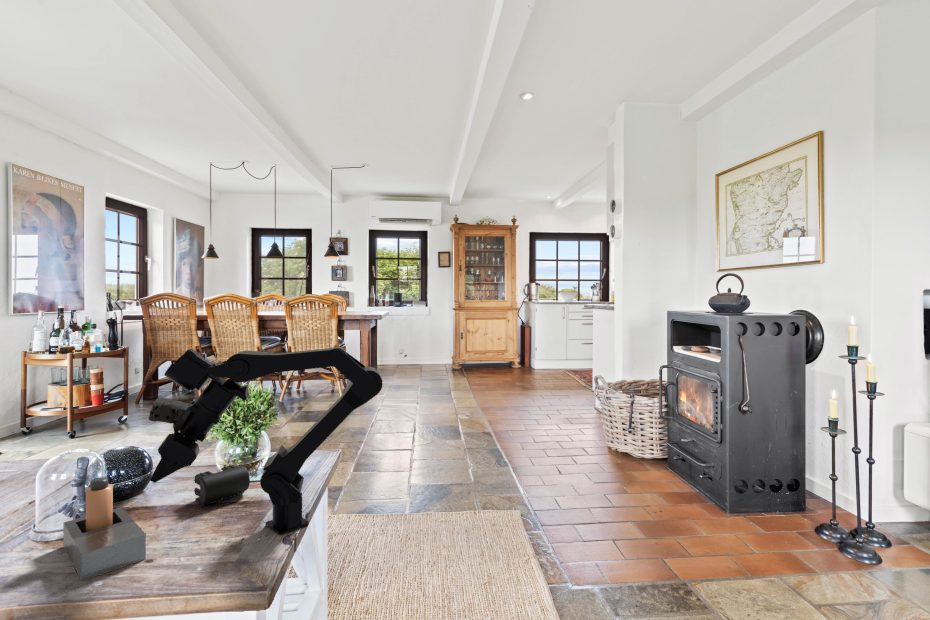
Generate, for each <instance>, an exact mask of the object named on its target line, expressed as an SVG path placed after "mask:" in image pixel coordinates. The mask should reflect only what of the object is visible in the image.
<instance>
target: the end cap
mask: <svg viewBox="0 0 930 620" xmlns="http://www.w3.org/2000/svg"><path fill="white" fill-rule="evenodd" d="M220 470H221V471H217V472H214V473H213V472H211V471H205V472H200V473H196V474H195V476H194V481H193V482H194V483H195V484H196V485H198V486H199V488H198V487H194V490H193V492H194V494H195V496H197V497H195V502H196V503H198V505H200V506H203V507H204V506H207V505H212V504H214V503H217V502H220V501H224V500H227V499H230V498H233V497H236V496H239V495H242V494H244V493H245V492H246V491H248V489H249V487H250V485H251V484H250V483H251V479H250V473H249V470H248V468H247V467H246V466H245V465H240V466H235V465H233V464H229V465H227V466H222V467H221V469H220Z"/></svg>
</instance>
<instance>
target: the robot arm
mask: <svg viewBox="0 0 930 620" xmlns="http://www.w3.org/2000/svg"><path fill="white" fill-rule="evenodd" d="M331 367H332V368H335V369H337V371H338V372H339V373H341V374H342V375H343V376H344V377H345V378H346V379H348V381H349V383H348V384H347V386H346V387H345V389H344V391H343V392H342V394H341V396H339V398H338V399H337V400H336V401H335V402H334V403H333V404H332V405H331V406H330V407H329V408H328V409H327V410H326V411H325V412H324V414H322V416H320V417H319V418H318V420H316V422H314V424H312V426H311V427H310V428H309V429H308V430H307V431H306V432H305V433H304V434H303V435H302V436H301V437H300V438H299V439H298V440H297V441H296V442H295V443H294V444H293V445H292V446H290V447H287V448H285V446H284V445H280V446H279V448H278V449H277V451H276V452H275V453H274V454H273V455H271V456H269V457H268V458H267V460H266V462H265V464H264V466H263V467H262V470H263V471H262V474H261V477H260V479H259V481H260V487H261V490H262V491H263V492H264V493H265V494H267V495H268V497H269V499H270V502H271V504H272V519H270V520H268V521H265V526H266V527H268V528H269V529H271V530H272V531H273V532H275V533H276V534H277V535H280V536H281V535H284V534H288V533H289V532H292V531H294V530H298V529H300V528H302V527H305V526H307V525H309V523H310V521H309V520H308V519H306V518H304V517H303V493H302V488H303V484H304V481H305V478H304V476H303V475H302V474H300V473H299V472H300V470H301V469H302V467H303V465H304V463H305V462H306V460H307V459H309V458H310V457H311V455H312V454H313V453H314V452H315V451H316V450H317V449H318V448H319V447H320V446H321V445H322V444H323V443H324V442H325V441H326V440H327V439H328V438H329V437H330V435H332V433H334V431H335V430H336V429H337V428H338V427H339V426H340V425H341V424H342V423H343V422H344V421H345V420H346V419H347V418H348V416H349V415H351V413H353V412H354V411H355V410H356V409H358V408H360V407H361V406H363V405H365V404H367V403H368V402H369V401H371V400H372V399H373V398H375V397H377V396H378V394H380V392H381V391H382V388H383V378H382V376H381V374H380V372H379V370H378V369H377V368H375V367H373V366H366V365H365V364H363V363H362V362H361V361H359V360H358V359H357V358H355V357H354V356H352V355H351V354H350V353H348V352H347V351H346V349H345V348H344V347H342V346H334V347H330V348H319V349H318V348H317V349H310V350H298V351H288V352H270V351H269V352H267V351H259V350H242V351H239V352H236V353H234V354H232V355H230V356H229V357H228V359H226V360H224V361H222V360H220V361H218V362H216V363H212V362H211V361H210V360H208V359H207V358H205V357H203V356H202V355H201V354H199V352H198V351H196V350H195V349H194V348H189V349H187V350H186V351H185V352H184V353H183V354H181V356H180V357H179V358H178V359H176V361H173V362H172V363H171V364H170V366H169V367H168V368H167V369H166V370H165V372H164V375H163V376H165V377H166V378H167V379H169V380H170V381H172V382H174V383H175V384H177V385H178V386H180V387H181V388H183V389H184V390H186V391H187V392H189V393H190V392H193V391H195V390H196V391H198V392H200V391H201V390H202V389H203V388H204V387H205V386H206V384H207V383H208V385H207V386H206V387H205V388H204V390H203V391H202V392H201V393H200V395H199V396H198V397H197V398H193V399H192V400H191V402H190V403H189V402H187V403H186V402H183V401H180V400H175V399H171V398H166V397H165V398H164V397H158V398H156V399H155V400H154V402H153V403H152V406H151V409H150V411H149V415H148V417H147V418H148V421H151V422H155V423H156V422H160V423H165V424H166V423H167V424H172V428H173V433H168V434H167V436H166V437H165V438H164V439H163V441H161V444H160V445H159V447H158V449H157V452H158V454H159V455H160V460H159V461H158V464H157V465H156V467H155V469H154V471H153V473H152V475H151V476H150V478H149V481H150V482H152V483H153V484H154V483H157V482H159V481H161V480H162V479H164V478H166V477H168V476H170V475H171V474H174V473H175V472H177V471H179V470H181V469H183V468H185V467H190V466H191V465H192V464H193V463H194V462H195V460H196V459H197V458H198V456H199V453H200V445H199V443H197V442H198V441H199V442H201V443H203V442H204V440H205V439H206V437H207V434H208V433H209V432H210V431H211V430H212V429H213V427H214V426H215V425H216V426H217V424H218V423H219V422H220V420H221V417H222V416H223V415H224V413H225V412H226V411H227V410H228V408H229V407H230V406H231V404H233V402H234V401H235V400H236V398H239V399H241V400H242V401H244V402H245V401H246V400H248V398H250V392H249V391H250V390H249V384H244V385H241V384H240V383H244V382H249V381H252V380H256V379H259V378H264V377H266V376H268V375H272V374H275V373H276V374H277V373H285V372H292V371H293V372H295V371H304V370H311V369H312V370H313V369H322V368H331ZM226 378H228V379H226ZM210 380H211V381H210ZM209 381H210V383H209Z"/></svg>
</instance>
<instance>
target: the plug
mask: <svg viewBox="0 0 930 620" xmlns="http://www.w3.org/2000/svg"><path fill="white" fill-rule="evenodd" d="M113 485H114V484H112V483H109V477H98V478H94V479H91V480H90V487H88V488H86V489H85V517H86V532H89V531H92V530H96V529H99V528H103V527H106V526H110V525H113V509H114V507H113V506H114V505H113V504H114V502H113V501H114V500H113V499H114V498H113V497H114V495H113V493H114V490H113V487H114V486H113Z"/></svg>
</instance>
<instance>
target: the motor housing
mask: <svg viewBox="0 0 930 620" xmlns="http://www.w3.org/2000/svg"><path fill="white" fill-rule="evenodd" d="M62 528H63V534H62V535H63V543H62V544H63V548H64V551H65V553H66V554H67V556H68V557H69V560H70V562H71V564H72V566H73V568H74V569H75V571H76V573H77V575H78V577H79V579H80V581H81V582H83V581H86V580H89V579H92V578H96V577H99V576H100V575H104V574H107V573H111V572H112V571H115V570H118V569H121V568H124V567H126V566H131V565H132V564H135V563H138V562H140V561H144V560H146V558H147V556H146V555H147V553H146V549H147V548H146V546H147V545H146V543H147V542H146V541H147V540H146V539H147V535H146V533H145V531H144V530H143V529H142V527H140V526H139V525H138V524H137V523H136V521H134V519H133V518H132V517H131V516H130V515H129V514H128V513H127V511H126V510H125V509H124V508H123V507H122V506H120V507H117V508H113V525H110V526H106V527H103V528H99V529H96V530H92V531H89V532H86V516H83V517H79V518H75V519H71V520H68V521H63V526H62Z"/></svg>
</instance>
